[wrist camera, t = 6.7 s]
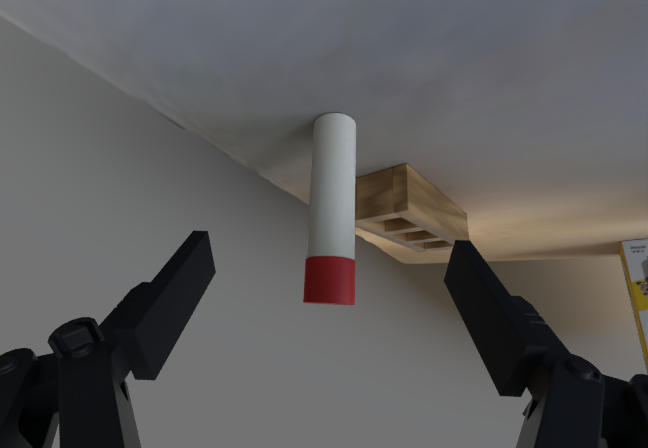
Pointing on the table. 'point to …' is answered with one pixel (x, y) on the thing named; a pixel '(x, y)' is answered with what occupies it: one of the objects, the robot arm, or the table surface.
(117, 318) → the robot arm
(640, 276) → the packaging box
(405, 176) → the pen holder
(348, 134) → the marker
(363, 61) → the table surface
